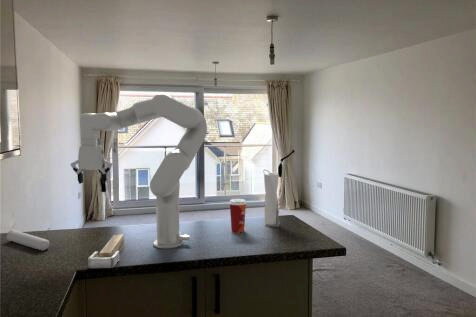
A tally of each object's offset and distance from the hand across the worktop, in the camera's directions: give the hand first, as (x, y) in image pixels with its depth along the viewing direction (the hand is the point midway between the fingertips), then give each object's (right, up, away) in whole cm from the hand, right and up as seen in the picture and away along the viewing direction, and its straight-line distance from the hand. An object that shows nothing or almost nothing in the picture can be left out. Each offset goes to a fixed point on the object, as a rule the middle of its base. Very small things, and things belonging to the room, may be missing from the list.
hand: (92, 183), depth 160 cm
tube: (-27, -27, 0) cm, 38 cm away
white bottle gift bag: (+79, -23, +31) cm, 88 cm away
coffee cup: (+62, -24, +20) cm, 69 cm away
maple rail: (+12, -28, -11) cm, 32 cm away
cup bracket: (+12, -29, -20) cm, 37 cm away
